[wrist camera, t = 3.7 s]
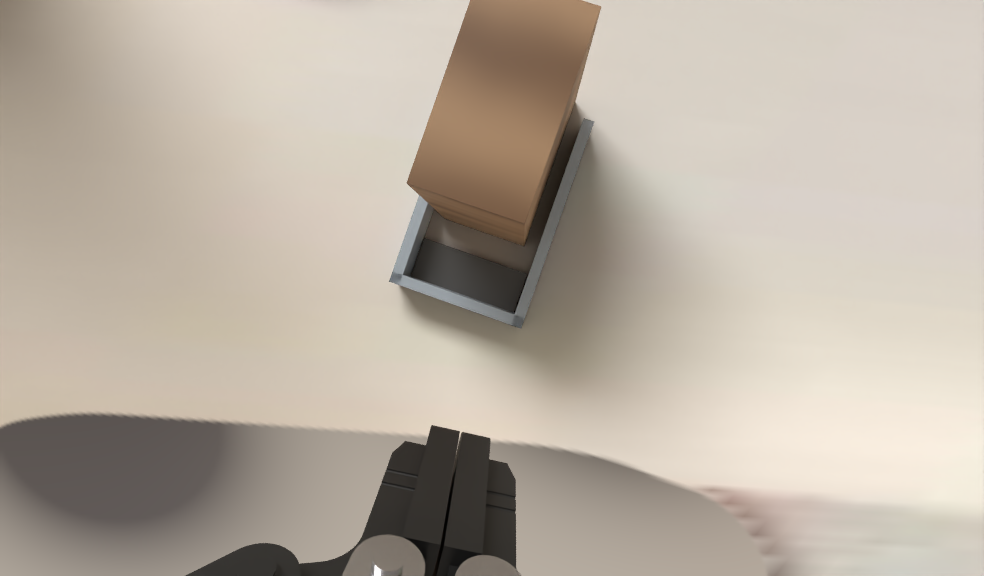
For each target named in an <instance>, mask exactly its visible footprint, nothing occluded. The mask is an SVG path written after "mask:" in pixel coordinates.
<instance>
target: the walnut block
mask: <svg viewBox="0 0 984 576" xmlns="http://www.w3.org/2000/svg"><path fill="white" fill-rule="evenodd" d="M600 9H601V6H598V5H595V4H591V3H588V2H585V1H582V0H470V3H469V6H468V8H467V11H466V14H465V17H464V20H463V23H462V26H461V29H460V31H459V34H458V37H457V40H456V43H455V46H454V49H453V51H452V54H451V57H450V60H449V63H448V66H447V69H446V72H445V74H444V77H443V80H442V83H441V86H440V89H439V92H438V95H437V97H436V100H435V103H434V106H433V109H432V112H431V115H430V117H429V120H428V123H427V126H426V129H425V132H424V135H423V138H422V140H421V143H420V146H419V149H418V152H417V155H416V158H415V161H414V163H413V166H412V169H411V172H410V175H409V178H408V181H407V184H408V185H409V186H410V187H411V188H412V189H413V190H415V191H416V192H417V193H418V194H419V195H420V196H421V197H422V198H423V199H424V200H425V201H426V202H427V203H428V204H430V205H431V206H432V207H433V208H434V209H435V210H436V211H437V212H438V213H439V214H440V215H441V216H442V217H443V218H445V219H447V220H450V221H453V222H456V223H458V224H461V225H464V226H467V227H470V228H473V229H476V230H479V231H482V232H484V233H487V234H490V235H493V236H496V237H499V238H502V239H505V240H508V241H510V242H513V243H516V244H519V245H522V246H524V245H525V243H526V240H527V237H528V234H529V231H530V228H531V225H532V223H533V220H534V217H535V214H536V211H537V208H538V206H539V203H540V200H541V197H542V194H543V191H544V189H545V186H546V183H547V180H548V177H549V174H550V172H551V169H552V166H553V163H554V160H555V157H556V155H557V152H558V149H559V146H560V143H561V140H562V138H563V135H564V132H565V129H566V126H567V123H568V121H569V118H570V115H571V112H572V109H573V106H574V103H575V100H576V97H577V93H578V89H579V86H580V82H581V78H582V75H583V71H584V68H585V64H586V60H587V57H588V53H589V49H590V46H591V42H592V38H593V35H594V31H595V28H596V24H597V20H598V17H599V13H600Z"/></svg>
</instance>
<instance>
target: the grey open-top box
mask: <svg viewBox="0 0 984 576" xmlns="http://www.w3.org/2000/svg"><path fill="white" fill-rule="evenodd" d="M593 124H594V121H591V120H588V119H585V118H584V119H583V122H582V125H581V127H580V130H579V133H578V136H577V139H576V142H575V144H574V147H573V150H572V153H571V156H570V159H569V161H568V164H567V167H566V170H565V173H564V176H563V178H562V181H561V184H560V187H559V190H558V193H557V195H556V198H555V201H554V204H553V207H552V210H551V212H550V215H549V218H548V221H547V224H546V227H545V229H544V232H543V235H542V238H541V241H540V244H539V246H538V249H537V252H536V255H535V258H534V261H533V263H532V266H531V269H530V272H529V275H528V278H527V280H526V283H525V286H524V289H523V292H522V295H521V297H520V300H519V303H518V306H517V309H516V312H515V313H513V312H514V309H515V306H516V304H517V301H518V298H519V295H520V292H521V289H522V287H523V284H524V281H525V278H526V275H527V274H526V273H523V272H520V271H517V270H514V269H511V268H508V267H506V266H503V265H500V264H497V263H494V262H491V261H488V260H486V259H483V258H480V257H477V256H474V255H471V254H468V253H466V252H463V251H460V250H457V249H454V248H451V247H448V246H446V245H443V244H440V243H437V242H434V241H431V240H428V239H426V238H424V236H425V233H426V230H427V228H428V225H429V222H430V219H431V216H432V213H433V210H434V208H433V207H432V206H431V205H430V204H428V203H427V202H426V201H425V200H424V199H423V198H422V197H421V196H420V195H419V197H418V200H417V203H416V206H415V209H414V212H413V215H412V217H411V220H410V223H409V226H408V229H407V232H406V235H405V237H404V240H403V243H402V246H401V249H400V252H399V255H398V257H397V260H396V263H395V266H394V269H393V272H392V275H391V278H390V280H389V282H392V283H395V284H397V285H400V286H403V287H406V288H409V289H411V290H414V291H417V292H420V293H423V294H425V295H428V296H431V297H434V298H437V299H439V300H442V301H445V302H448V303H451V304H453V305H456V306H459V307H462V308H465V309H467V310H470V311H473V312H476V313H479V314H481V315H484V316H487V317H490V318H493V319H495V320H498V321H501V322H504V323H507V324H509V325H512V326H515V327H518V328H521V327H522V325H523V322H524V319H525V316H526V313H527V310H528V308H529V305H530V302H531V299H532V296H533V293H534V291H535V288H536V285H537V282H538V279H539V276H540V274H541V271H542V268H543V265H544V262H545V259H546V257H547V254H548V251H549V248H550V245H551V243H552V240H553V237H554V234H555V231H556V228H557V226H558V223H559V220H560V217H561V214H562V211H563V209H564V206H565V203H566V200H567V197H568V194H569V192H570V189H571V186H572V183H573V180H574V177H575V175H576V172H577V169H578V166H579V163H580V160H581V158H582V155H583V152H584V149H585V146H586V143H587V141H588V138H589V135H590V132H591V129H592V127H593ZM423 239H424V241H423ZM422 242H423V244H422ZM421 245H422V246H421ZM420 248H421V249H420ZM419 250H420V252H419ZM418 253H419V255H418ZM417 256H418V258H417ZM416 259H417V261H416ZM415 262H416V264H415ZM414 265H415V266H414ZM413 268H414V269H413ZM412 270H413V272H412ZM411 273H412V275H411Z"/></svg>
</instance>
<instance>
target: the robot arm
mask: <svg viewBox="0 0 984 576" xmlns="http://www.w3.org/2000/svg"><path fill="white" fill-rule="evenodd" d="M459 433H460V431H456V430H451V429H447V428H442V427H438V426H433V425H432V426H431V429H430V433H429V437H428V441H427V444H426V445H421V444H416V443H412V442H407V441H405V442H404V443H403V444H402V445H401V446H400V447H399V448H397V449H396V450H395V451H394V452H393V453H392V455H391V458H390V461H389V464H388V466H387V470H386V472H385V475H384V477H383V480H382V484H381V486H380V489H379V492H378V494H377V497H376V500H375V502H374V505H373V508H372V511H371V514H370V516H369V519H368V522H367V525H366V527H365V530H364V533H363V535H362V538H361V539H360V541H359V542H358V544H357V545H356V546H355V547H354V548H353V549H352V550H350V551H349V552H348V553H346V554H344V555H342V556H340V557H338V558H335V559H332V560H329V561H323V562H315V563H304V564H303V563H302V564H299V562H298V560H297V558H296V557H295V555H294V554H293V553H292V552H291V551H289V550H287V549H286V548H284V547H282V546H279V545H275V544H268V543H259V544H253V545H249V546H246V547H243V548H241V549H238V550H236V551H234V552H232V553H230V554H228V555H226V556H224V557H222V558H220V559H218V560H216V561H214V562H212V563H210V564H208V565H206V566H204V567H202V568H200V569H198V570H196V571H194V572H192V573H190V574H188V575H186V576H521V575H520V573H519V572H518V571H517V570H516V514H515V511H516V500H515V497H516V494H515V493H516V491H515V490H516V489H515V488H516V487H515V483H516V482H515V478H514V476H513V474H512V472H511V470H510V468H509V466H508V464H507V463H503V462H498V461H494V460H489V453H490V438H487V437H483V436H478V435H474V434H469V433H464V432H462V433H461V437H460V441H459V445H458V439H459ZM457 445H458V449H457ZM456 451H457V453H456Z"/></svg>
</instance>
